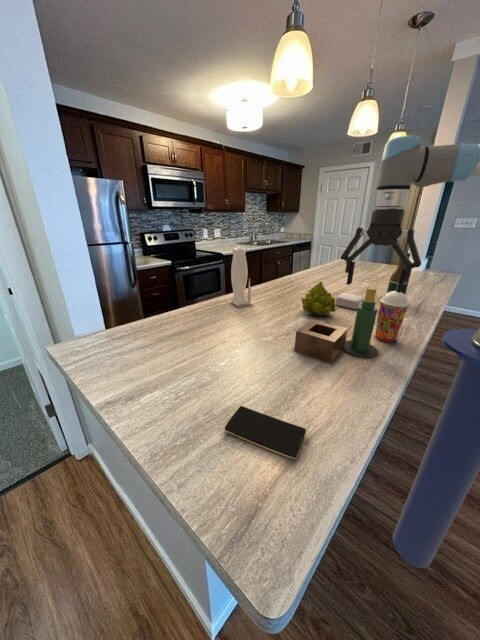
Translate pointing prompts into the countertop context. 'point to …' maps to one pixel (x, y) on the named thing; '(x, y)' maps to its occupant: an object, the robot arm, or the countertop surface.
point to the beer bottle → (398, 278)
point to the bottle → (364, 322)
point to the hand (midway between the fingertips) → (372, 287)
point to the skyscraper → (240, 277)
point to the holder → (320, 340)
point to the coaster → (369, 354)
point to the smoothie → (391, 315)
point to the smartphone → (266, 432)
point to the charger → (349, 300)
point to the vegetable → (319, 301)
